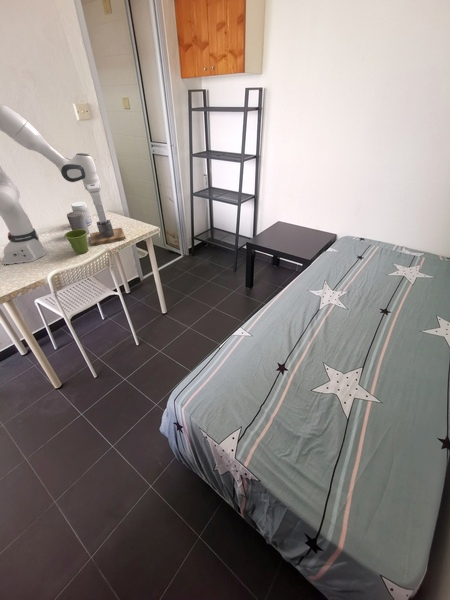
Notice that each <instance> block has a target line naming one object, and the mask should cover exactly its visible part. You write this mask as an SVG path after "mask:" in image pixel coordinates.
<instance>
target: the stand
mask: <svg viewBox="0 0 450 600" xmlns="http://www.w3.org/2000/svg"><path fill="white" fill-rule="evenodd" d="M106 220H107V224H106V223H103V224H102V225H101V224H100V221H99V220H98V221H96V226H97V229H98V231H96V232H89V237H90V243H91V246H92V247H94V246H99V245H105V244H109V243H114V242H120V241H124V239H126V240H127V237H126V235H125V232H124V231H123V228H122V227H117V228H113V226H112V223H111V220H110V219H106Z"/></svg>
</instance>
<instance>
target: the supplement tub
mask: <svg viewBox="0 0 450 600" xmlns="http://www.w3.org/2000/svg"><path fill="white" fill-rule="evenodd" d="M70 206H71V209H72V212H75V211H81V212H83V215H84V218H85V221H86V223H87V227H89V226H91V225H92V223H93V222H92V221H93V220H92V218H91V215H90V212H89V209H88V205H87V203H86V202H85V201H77V202H73V203H72V204H71V205H70Z"/></svg>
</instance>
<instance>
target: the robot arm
mask: <svg viewBox="0 0 450 600" xmlns="http://www.w3.org/2000/svg"><path fill="white" fill-rule="evenodd" d="M0 131H1V132H3V133H4V134H6V136H8V137H10V138H11V139H12V140H13V141H14V142H16V143H17V144H19V145H20V146H22V147H23V148H25V149H27V150H29V151H33V152H37V153H38V154H40V155H42V156H44V158H46V159H48V160H49V161H50V162H51V163H52V164H53V165H55V166H56V167H57V168H58V170H59V172H60V174H61V176H62V177H63V179H64V180H66V181H67V182H69V183H75V182H79V181H81V180H82V182H83V183H82V184H83V186H84V190H86V191H87V192H88V193H89V195H90V197H91V199H92V203H93V202H94V203H93V205H94V207H95V206H97V207H98V210H99V212H101V211H102V209H101V205H102V206H103V201H102V196H101V188H102V184H101V181H100V177H99V175H98V173H97V172H98V171H97V166H96V164H95V160H94V159H93V156H91V155H90V154H89V153H83V152H79V153H76V154H75V155H74V156H73V157H72V158H71V159H70V158H68V157H64V156H63V155H62V154H61V153H59V151H57V150H56V149H55V148H53V147H52V146H51V145H50V144H49V143H48V142H47V141H46V140H45V139H44V137H43V135H41V133H40V132H39V131H38V130H37V129H36V128H35V127H34V126H33V125H32V123H29V121H28V120H27V119H25V118H24V117H23V116H21V115H20V114H19V113H18V112H16V111H15V110H13V109H12V108H10V107H8V106H7V105H4V104H0ZM20 197H21V195H20V191H19V189H18V187H17V186H16V185H15V184H14V182H13V180H12V179H11V178H10V177H9V176H8V174H7V173H6V172H5V170H3V168H2V166H1V165H0V217H1V219H2V220H3V222H4V223H5V225H6V227H7V229H8V233H7V239H8V241H9V242H7V244H6V245H5V247H4V248H3V257H2V258H1V263H2V264H3V265H4V264H5V265H4V266H7V265H6V264H9V265H15V264H14V263H17V264H24V263H23V262H25V263H30V262H35V261H36V260H37V259H39V258H42V257H43V256H45V255H46V254H47V253H48V251H47V249H46V248H45V246H44V245H43V243H42V242H41V241H40V239H39V236H38V233H37V231H36V229H35V228H34V227H33V225H32V223H31V221H30V217H29V216H28V214H27V213H26V212H25V210H24V208H23V207H22V205H21V203H20Z"/></svg>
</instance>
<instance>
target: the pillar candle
mask: <svg viewBox="0 0 450 600" xmlns="http://www.w3.org/2000/svg"><path fill="white" fill-rule="evenodd" d="M66 218H67V221H68V223H69V225H70V228H71V229H70V230H71V231H72V230H78V229H82V230H86V231H87V235H90V230H89V226H87V223H86V221H85V218H84V215H83V212H81V211H75V212H73V211H70V212H68V213H67V214H66Z"/></svg>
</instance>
